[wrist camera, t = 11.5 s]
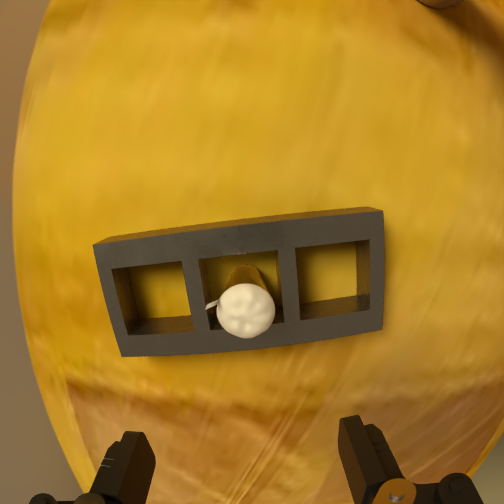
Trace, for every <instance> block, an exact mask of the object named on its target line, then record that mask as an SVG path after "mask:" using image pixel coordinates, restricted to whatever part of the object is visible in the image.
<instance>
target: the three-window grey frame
mask: <svg viewBox="0 0 504 504" xmlns="http://www.w3.org/2000/svg"><path fill="white" fill-rule="evenodd" d="M351 241H356V266H357V295H356V296H350V297H343V298H336V299H330V300H323V301H315V302H308V303H301V304H299V294H298V280H297V267H296V254H295V248H298V247H307V246H316V245H324V244H333V243H342V242H351ZM93 249H94V254H95V259H96V264H97V268H98V273H99V277H100V282H101V286H102V290H103V294H104V298H105V302H106V305H107V309H108V313H109V316H110V320H111V323H112V327H113V330H114V334H115V337H116V340H117V343H118V347H119V350H120V353H121V356H122V357H140V356H170V355H189V354H204V353H217V352H229V351H240V350H250V349H259V348H268V347H277V346H284V345H292V344H299V343H306V342H313V341H320V340H326V339H332V338H338V337H344V336H350V335H355V334H361V333H366V332H371V331H376V330H381V329H382V324H383V304H384V219H383V211H382V210H379V209H375V208H371V207H357V208H345V209H334V210H324V211H313V212H303V213H293V214H284V215H275V216H265V217H257V218H248V219H239V220H231V221H222V222H214V223H206V224H198V225H191V226H183V227H175V228H168V229H161V230H154V231H146V232H139V233H133V234H126V235H119V236H112V237H108V238H106V239H104V240H102V241H100V242H98V243H95V244H93ZM272 250H275V258H276V269H277V279H278V290H279V301H280V306H277V307H275V316H274V319H273V322H272V324H271V325H270V327H269V328H268V329H267V330H266V331H265V332H263V333H261V334H259V335H258V336H256V337H253V338H241V337H238V336H235V335H233V334H231V333H229V332H227V331H226V330H225V329H224V328H223V327H222V325H221V324H220V322H219V320H218V317H217V313H214V311H213V307H211V308H208V309H206V310H205V308H206V305H207V304H209V303H211V302H212V299H211V293H210V287H209V281H208V274H207V268H206V261H205V258H211V257H220V256H229V255H237V254H246V253H255V252H264V251H272ZM176 261H181V262H182V268H183V273H184V279H185V285H186V290H187V295H188V301H189V306H190V311H191V315H189V316H177V317H164V318H149V319H139V315H138V311H137V307H136V303H135V299H134V294H133V290H132V286H131V281H130V276H129V272H128V267H132V266H141V265H150V264H159V263H167V262H176Z"/></svg>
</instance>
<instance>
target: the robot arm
mask: <svg viewBox="0 0 504 504" xmlns="http://www.w3.org/2000/svg"><path fill="white" fill-rule="evenodd" d="M418 1H420V2H422V3H424V4H426V5H428V6H430V7H434V8H440V9H442V8H446V7H448V6H449V5H453V6H457V5H458V4H459V3H461V2H462V1H464V0H418ZM338 450H339V455H340V458H341V461H342V464H343V467H344V471H345V474H346V477H347V480H348V484H349V487H350V490H351V493H352V497H353V500H354V503H355V504H484V503H483V502H482V500H481V498H480V496H479V494H478V492H477V490H476V488H475V486H474V484H473V482H472V480H471V479H470V478H469V477H468V476H467V475H465V474H463V473H452V474H449V475H447V476H445V477H444V478H443V479H442V480H441V481H440V483H431V484H415V483H412V482H411V481H409V480H407V479H405V478H404V476H403V475H402V473H401V471H400V469H399V467H398V464H397V462H396V460H395V458H394V456H393V454H392V452H391V450H390V449H389V446H388V444H387V442H386V439H385V437H384V435H383V433H382V431H381V430H380V429H379V428H377V427H376V426H375V425H374V424H369V425H365V426H364V425H363V423H362V420H361V418H360V416H359V415H354V416H350V417H345V418H341V419H340V422H339V435H338ZM155 465H156V460H155V455H154V452H153V450H152V448H151V446H150V444H149V442H148V440H147V438H146V436H145V434H144V433H143V432H134V431H126V432H125V433H124V434H123V437H122V439H121V441H120V442H118V441H115V442H114V443H113V444H112V445H111V446H110V447H109V448H108V450H107V452H106V454H105V456H104V459H103V461H102V463H101V466H100V468H99V470H98V473H97V475H96V477H95V480H94V482H93V484H92V487H91V489H90V491H89V493H84V494H82V495H80V496H78V497H77V498H76V500H75V501H56V500H55V499H54V498H53V497H52V496H51V495H49V494H44V493H41V494H37V495H35V496H34V497H33V498H32V499H31V500H30V503H29V504H145V503H146V499H147V496H148V492H149V488H150V484H151V480H152V477H153V473H154V469H155Z"/></svg>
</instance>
